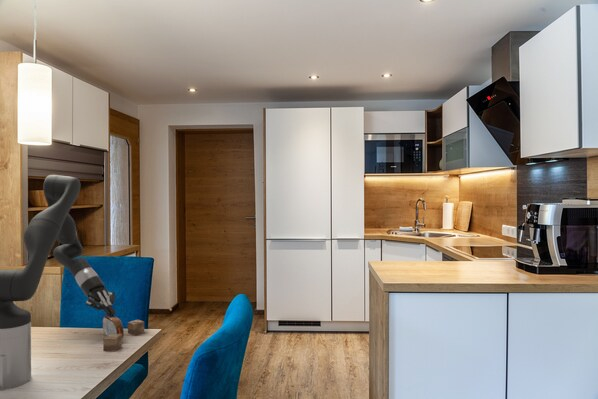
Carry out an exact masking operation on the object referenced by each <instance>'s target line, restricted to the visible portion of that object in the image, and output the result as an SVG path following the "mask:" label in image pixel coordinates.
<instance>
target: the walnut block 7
mask: <svg viewBox="0 0 598 399" xmlns="http://www.w3.org/2000/svg"><path fill="white" fill-rule="evenodd" d="M127 333H128V335H132V336H138V335H141V334H144V333H145V321H143V320H140V319H135V320H131V321H127Z"/></svg>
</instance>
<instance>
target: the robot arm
mask: <svg viewBox="0 0 598 399" xmlns="http://www.w3.org/2000/svg"><path fill="white" fill-rule="evenodd" d="M81 187H82V186H81V181H80V179H79V178H77V177H75V176H67V175H61V174H60V175H59V174H49V175H47V176H46V177H45V179H44V182H43V188H42V189H43V196H44V197H45V198H44V199H45V201H46V204H47V208H46V209H44V210H41V211H40V212H39V213H37V214H36V215H35V216H34V217H32V218H31V220H30V222H29V223H28V225H27V227H26V228H25V231H24V233H23V243H24V245H25V248H26V250H27V254H28V260H27V263H26V266H25V267H23V269H1V270H0V390H1V391H3V390H6V389H11V388H15V387H19V386H21V385H24V384H26V383H27V382H29V381H30V380H31V379H32V314H31V311H29V310H27V309H24V308H22V307H19V306H18V305H17V304H15V303H14V302H26V301H28V300H31V299H32V298H33V297H34V295H35V293H36V292H37V290H38V286H39V284H40V282H41V278H42V276H43V273H44V270H45V266H46V263H47V260H48V259H49V256H50V253H51V251H52V250H53V254H52V255H53V257H54V259H55V260H56V261H57V262H58V263H59V264H60V265H62V266H63V267H64V268H66V269H67V270H69V272H70V274H71V275H72V276H73V277H74V279H75V281H76V283H77V285H78V286H79V288H80V289H81V290H82V293H84V295H85V296H86V297H87V300H86V302H85V303H84V304H85V305H87V306H88V307H91V308H93V309H95V310H97V311H100V310H102V311H104V313H105V314H106V316H107V315H108V316H109V317H112V316H115V314H116V310H115V308H113V305H114V304H115V298H116V292H115V291H112V292H111V291H109V290H108V289H107V288H106V287H105V283H104V282H103V281H102V279H101V277H100V276H99V275H98V273H97V272H96V271H95V270H94V269H93V267H92V265H90V263H89V261H88V260H87V259H85V258H78V257H81V256H82V255H83V253H84V248H83V246H82V243H81V242H80V240H79V238H78V235H77V234H78V233H77V226H76V223H75V222H76V221H75V220H74V218H73V217H72V216H71V215H70V213H69V212H70V211H71V209H72V207H73V206H74V204H75V202H76V200H77V199H78V197H79V194H80V192H81ZM56 242H58V244H61V245H58V246H56V247H54V245H55V243H56ZM53 247H54V249H53Z"/></svg>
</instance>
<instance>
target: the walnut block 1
mask: <svg viewBox="0 0 598 399" xmlns="http://www.w3.org/2000/svg"><path fill="white" fill-rule="evenodd" d="M102 340H103V352H116V350H117V351H118V350H119V349H120V348H122V347H123V339H122V334H109V335H108V336H106V335H105V337H104V338H103V339H102ZM121 346H122V347H121Z"/></svg>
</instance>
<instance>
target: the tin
mask: <svg viewBox="0 0 598 399" xmlns="http://www.w3.org/2000/svg"><path fill="white" fill-rule="evenodd" d="M102 329H103V330H102V331H103V333H104V335H105V337H106V336H108V335H109V334H122V340H123V338H124V335H125V334H124V333H125V332H124V325H123V322H122V321H121V319H120V318H118V317H117V316H115V315H114V316H112V317H109V316H108V315H107V314H106V315H105V316H103V317H102Z"/></svg>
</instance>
